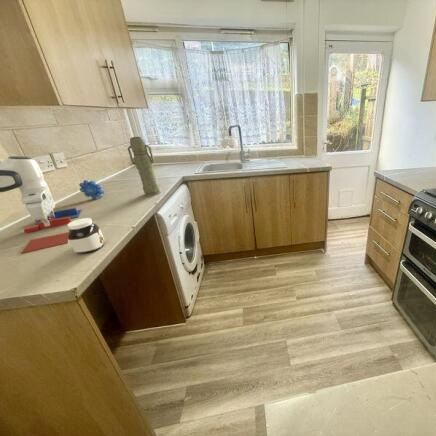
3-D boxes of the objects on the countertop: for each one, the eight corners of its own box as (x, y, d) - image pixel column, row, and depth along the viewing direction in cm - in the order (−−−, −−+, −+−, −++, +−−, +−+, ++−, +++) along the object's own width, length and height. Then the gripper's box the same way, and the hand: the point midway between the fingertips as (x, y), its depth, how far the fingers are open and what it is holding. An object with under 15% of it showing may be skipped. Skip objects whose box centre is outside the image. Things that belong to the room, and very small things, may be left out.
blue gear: (81, 202, 145) (72, 183, 140) (86, 198, 151) (77, 180, 146) (103, 199, 148) (96, 180, 143) (107, 196, 154) (100, 177, 149)
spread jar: (96, 254, 89) (83, 226, 84) (61, 259, 87) (46, 231, 82) (111, 239, 100) (100, 213, 95) (80, 243, 98) (67, 217, 93)
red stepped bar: (24, 232, 108) (21, 226, 106) (27, 229, 110) (24, 223, 109) (70, 224, 115) (68, 218, 114) (72, 221, 118) (69, 216, 117)
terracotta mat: (21, 253, 91) (20, 252, 91) (31, 240, 100) (30, 239, 100) (75, 242, 99) (75, 240, 99) (80, 231, 108) (79, 229, 108)
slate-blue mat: (35, 225, 115) (35, 224, 114) (42, 217, 124) (42, 216, 124) (78, 217, 122) (78, 216, 122) (81, 210, 132) (81, 209, 131)
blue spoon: (35, 221, 117) (32, 216, 116) (37, 219, 120) (35, 213, 119) (77, 214, 125) (75, 209, 124) (78, 212, 128) (76, 207, 127)
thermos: (163, 195, 152) (146, 136, 138) (142, 198, 148) (122, 138, 134) (164, 191, 160) (148, 135, 145) (143, 194, 156) (125, 137, 141)
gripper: (34, 189, 114) (47, 216, 119) (19, 201, 98) (34, 232, 103) (52, 187, 117) (63, 213, 122) (40, 198, 101) (54, 228, 106)
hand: (50, 222), depth 113 cm, fingers open, 7 cm apart
